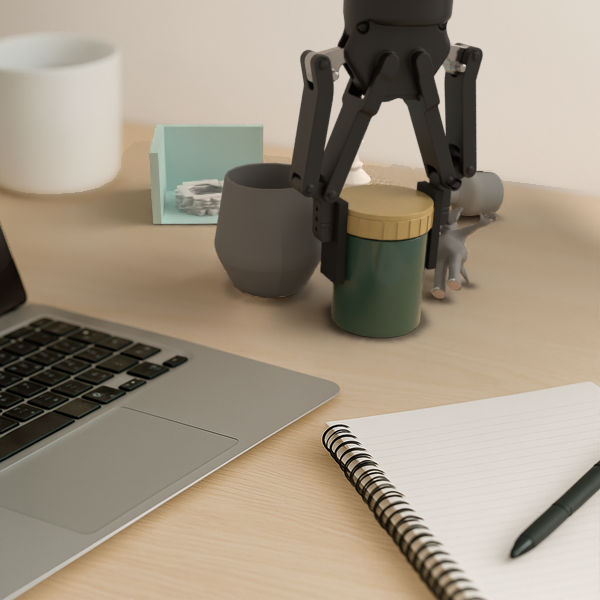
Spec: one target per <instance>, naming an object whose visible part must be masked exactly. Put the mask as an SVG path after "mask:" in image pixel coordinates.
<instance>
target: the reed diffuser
mask: <svg viewBox="0 0 600 600" xmlns="http://www.w3.org/2000/svg"><path fill="white" fill-rule="evenodd" d="M460 180H462V185H461V187H460V189H458V190H457V191H451V199H450V207H451V208H452V209H453V210H455V209H456V208H461V207H462V208H463V211H462V212H461V213H460V216H464V217H474V216H480V214H479V213H482V215H483V216H486V215H488V214H490V213H491V212H493V213H496V212H497V211H498V210H500V208H501V207H502V205H503V201H504V197H505V189H504V184H503V183H504V182H503V181H502V179H501V177H500V176H499V175H498V174H497V173H496V172H493V171H491V170H489V169H488V170H487V169H477V170H476V173H475V175H474V176H473V177H471V178H467V177H464V178H462V179H460ZM453 210H452V211H453Z"/></svg>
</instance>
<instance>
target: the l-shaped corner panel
mask: <svg viewBox="0 0 600 600" xmlns="http://www.w3.org/2000/svg"><path fill="white" fill-rule="evenodd" d="M148 155H149V173H150V174H149V175H150V189H151V190H150V191H151V192H150V193H151V211H152V212H151V213H152V224H153V225H187V224H188V225H191V224H192V225H194V224H195V225H196V224H198V225H200V224H201V225H202V224H203V225H205V224H206V225H207V224H217V221H218V215H219V208H220V202H221V196H222V190H223V183H224V177H225V174H226V173H227V171H229V170H231V169H233V168H235V167H238V166H242V165H246V164H255V163H264V123H261V124H260V123H257V124H255V123H254V124H253V123H250V124H249V123H247V124H245V123H241V124H240V123H239V124H236V123H233V124H232V123H231V124H230V123H228V124H226V123H225V124H224V123H215V124H214V123H212V124H211V123H208V124H207V123H205V124H204V123H202V124H201V123H156V124H155V128H154V132H153V136H152V140H151V144H150V148H149V153H148Z"/></svg>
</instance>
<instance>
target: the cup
mask: <svg viewBox="0 0 600 600" xmlns="http://www.w3.org/2000/svg"><path fill="white" fill-rule="evenodd" d="M290 169H291V163H281V162H263V163H255V164H246V165H242V166H238V167H235V168H233V169H231V170H229V171H227V173H226V174H225V177H224V183H223V190H222V196H221V202H220V208H219V215H218V221H217V223H216V228H215V234H214V241H213V243H214V244H213V245H214V250H215V252H216V255H217V258H218V260H219V262H220V264H221V266H222V268H223V269H224V271H225V273H226V274H227V276H228V278H229V280H230V281H231V283H232V285H233V286H234V287H235V288H236V289H237V290H239V291H240V292H241V293H243V294H245V295H249V296H252V297H256V298H263V299H278V298H282V297H289V296H292V295H294V294H296V293H299V292H301V290H303V289H304V288H305V287H306V286H307V284H308V283H309V281H310V280H311V278H312V276H313V274H314V273H315V271H316V270H317V268H318V266H319V264H321V241H319V240H318V239H317V238H316V237H314V234H313V232H312V224H313V223H312V219H313V198H312V197H305V196H304V195H303V194H301V193H300V192H298V191H297V190H296V189H294V188H293V187H292V186H291V185H290V184H289V175H290Z"/></svg>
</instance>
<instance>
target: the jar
mask: <svg viewBox="0 0 600 600" xmlns="http://www.w3.org/2000/svg"><path fill="white" fill-rule="evenodd" d="M428 232H429V231H428ZM428 232H427V233H425V234H423V235H420V236H418V237H414V238H409V239H402V240H377V239H369V238H363V237H359V236H355V235H352V234H349V233H347V243H346V262H345V280H344V284H341V285H335V284H333V283H332V289H331V291H332V292H331V315H330V316H331V319H332V321H333V323H334V324H335V325H336V326H337V327H339V328H340V329H342V330H344V331H346V332H348V333H351V334H353V335H357V336H360V337H361V336H362V337H366V338H377V339H379V338H380V339H384V338H385V339H387V338H394V337H400V336H404V335H407V334H409V333H411V332H413V331H414V330H416V329H417V328H418V326H419V324H420V322H421V312H422V302H423V291H424V283H425V282H424V281H425V270H426V268H425V262H426V252H427V242H428Z"/></svg>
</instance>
